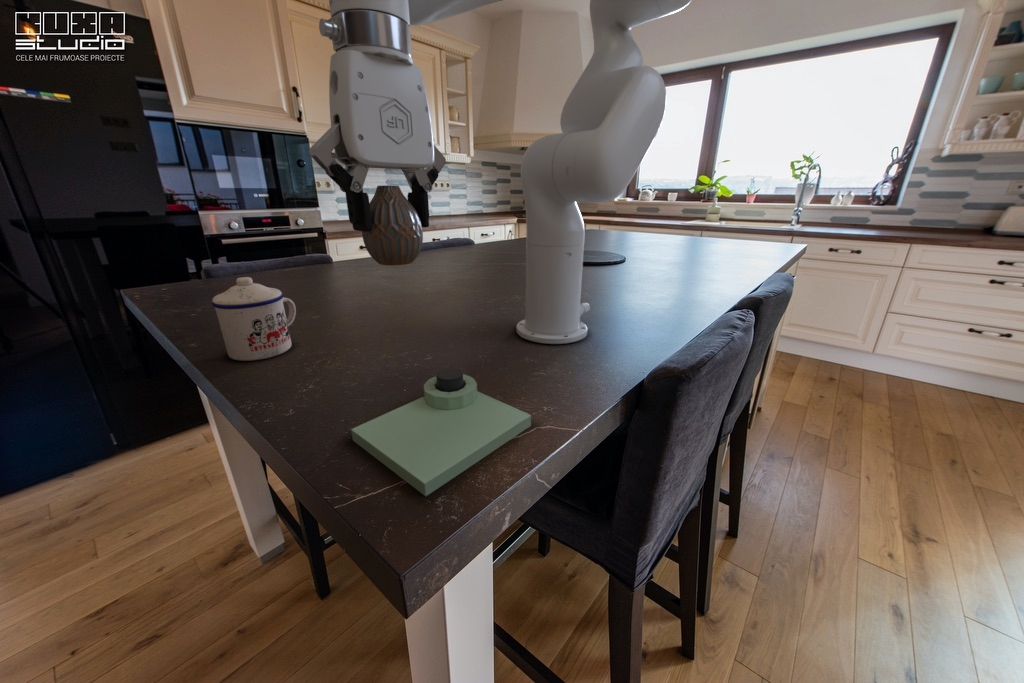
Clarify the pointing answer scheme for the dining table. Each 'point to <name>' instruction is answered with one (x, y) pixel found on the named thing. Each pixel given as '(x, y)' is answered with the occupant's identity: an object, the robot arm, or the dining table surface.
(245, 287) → the teacup with lid
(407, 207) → the vase
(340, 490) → the dining table surface
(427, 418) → the scale
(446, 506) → the dining table surface
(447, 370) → the button
